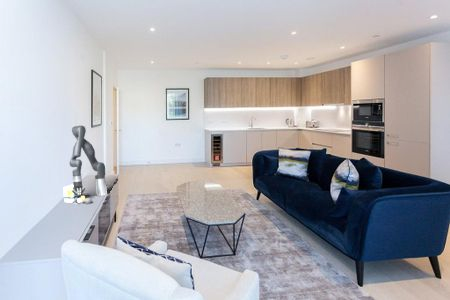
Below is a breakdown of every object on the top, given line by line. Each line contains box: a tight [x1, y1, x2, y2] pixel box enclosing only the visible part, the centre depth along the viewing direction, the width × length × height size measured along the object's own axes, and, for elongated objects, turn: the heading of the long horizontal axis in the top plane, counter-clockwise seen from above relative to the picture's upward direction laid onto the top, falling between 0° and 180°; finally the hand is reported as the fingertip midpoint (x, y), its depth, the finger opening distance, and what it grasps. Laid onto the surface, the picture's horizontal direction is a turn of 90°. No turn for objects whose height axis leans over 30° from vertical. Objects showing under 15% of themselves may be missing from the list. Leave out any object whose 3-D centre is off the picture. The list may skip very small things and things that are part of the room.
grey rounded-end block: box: [84, 197, 92, 205], centre depth 328 cm, size 5×5×5 cm
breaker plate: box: [71, 199, 93, 206], centre depth 333 cm, size 14×11×2 cm
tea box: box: [63, 183, 84, 203], centre depth 343 cm, size 15×10×15 cm
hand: (79, 198), depth 334 cm, fingers closed
